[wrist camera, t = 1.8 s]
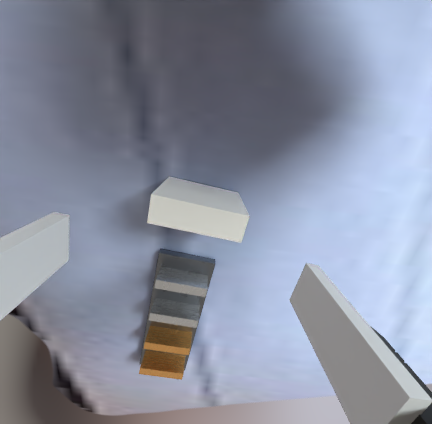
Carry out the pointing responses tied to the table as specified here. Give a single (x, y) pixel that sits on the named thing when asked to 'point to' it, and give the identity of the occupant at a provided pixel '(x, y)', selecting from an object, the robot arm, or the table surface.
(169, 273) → the rack
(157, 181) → the table surface
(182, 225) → the panel
